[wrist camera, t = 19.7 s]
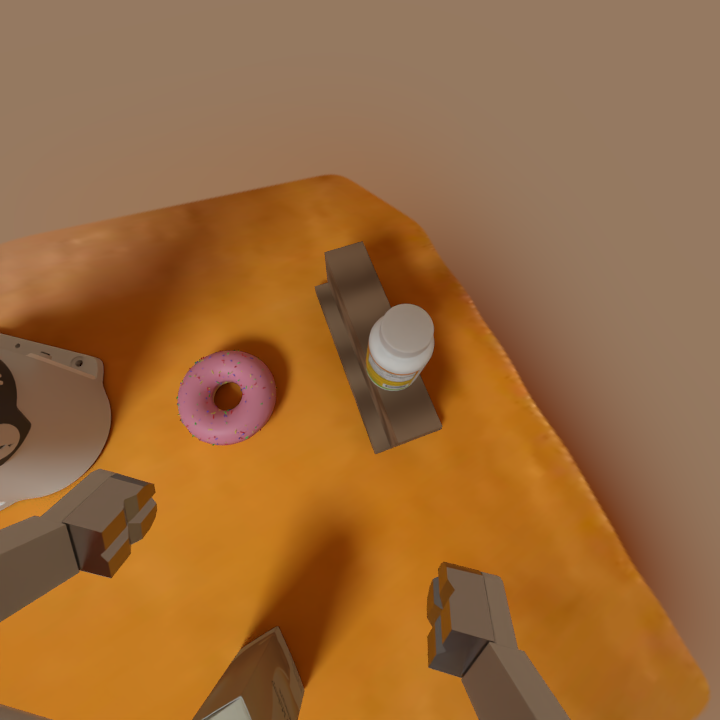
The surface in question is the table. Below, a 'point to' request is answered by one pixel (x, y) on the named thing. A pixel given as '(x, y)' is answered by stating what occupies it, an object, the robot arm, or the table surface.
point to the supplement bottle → (399, 347)
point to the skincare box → (257, 684)
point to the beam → (351, 335)
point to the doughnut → (234, 422)
